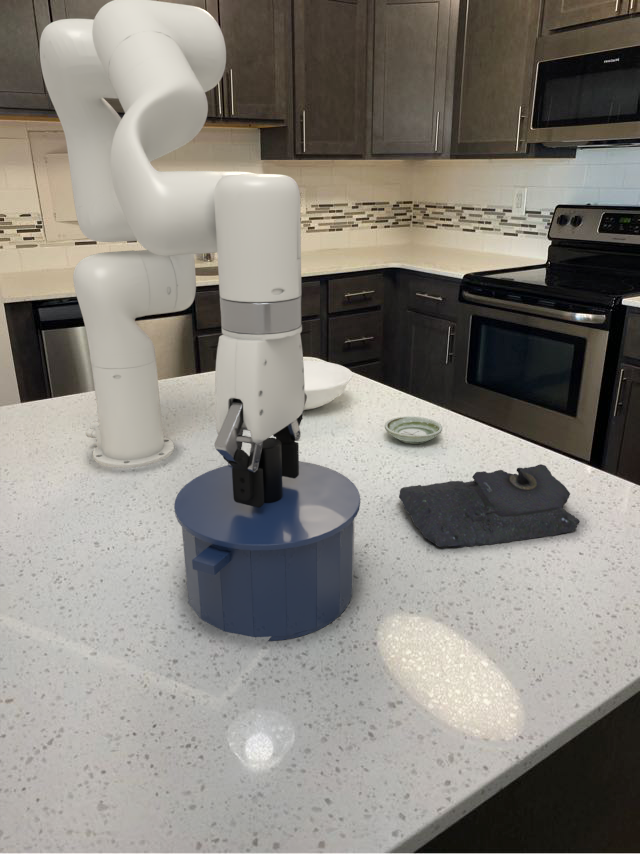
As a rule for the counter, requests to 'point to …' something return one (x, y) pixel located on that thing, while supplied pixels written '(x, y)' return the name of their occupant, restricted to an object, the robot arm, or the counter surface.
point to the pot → (270, 585)
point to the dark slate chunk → (490, 508)
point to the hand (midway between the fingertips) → (267, 487)
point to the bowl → (324, 382)
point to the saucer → (413, 429)
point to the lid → (268, 506)
